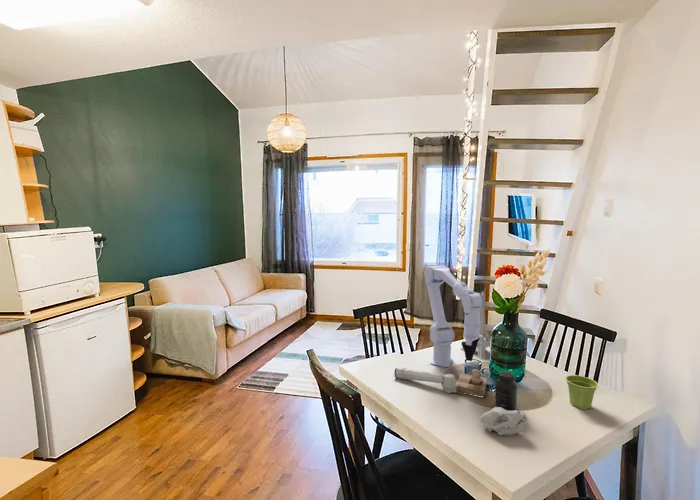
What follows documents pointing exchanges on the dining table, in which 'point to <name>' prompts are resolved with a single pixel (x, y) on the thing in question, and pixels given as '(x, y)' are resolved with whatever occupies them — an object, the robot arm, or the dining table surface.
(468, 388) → the socket block
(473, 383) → the peg
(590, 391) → the plant pot
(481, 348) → the eiffel tower
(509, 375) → the supplement bottle
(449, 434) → the dining table surface
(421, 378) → the gray mallet
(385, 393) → the dining table surface
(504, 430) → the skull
